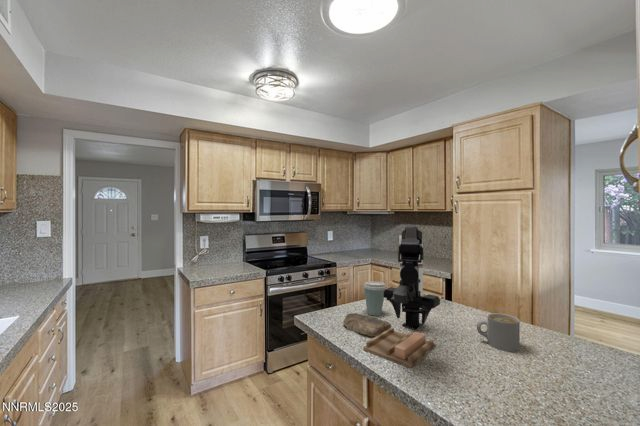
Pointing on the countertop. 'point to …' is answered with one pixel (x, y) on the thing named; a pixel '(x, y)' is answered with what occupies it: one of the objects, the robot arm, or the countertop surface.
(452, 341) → the countertop surface
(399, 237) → the white tall box
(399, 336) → the rack
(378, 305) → the disposable coffee cup
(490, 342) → the coffee mug
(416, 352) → the rack rail
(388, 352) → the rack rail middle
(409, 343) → the clay strip
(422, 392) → the countertop surface
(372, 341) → the rack rail
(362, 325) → the brown rock
